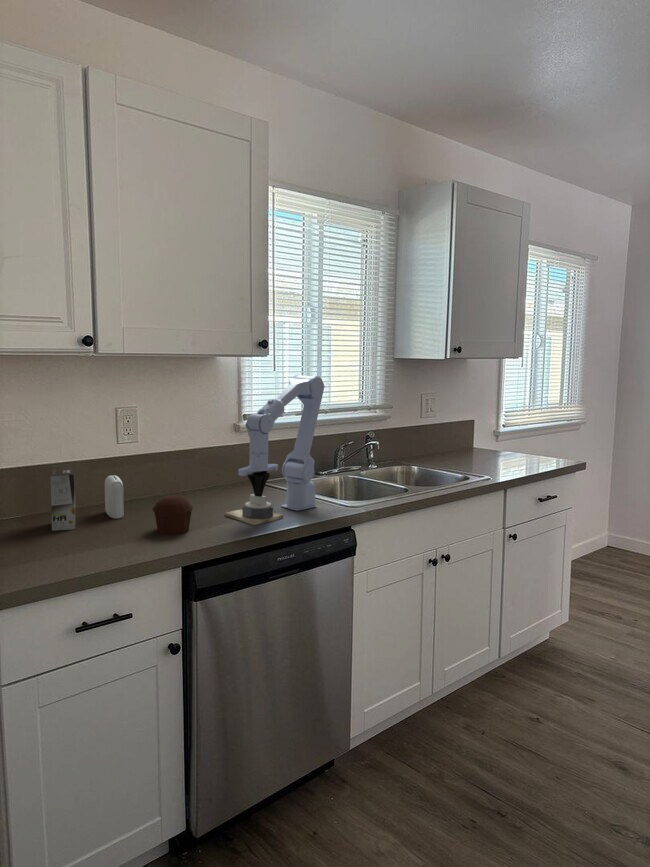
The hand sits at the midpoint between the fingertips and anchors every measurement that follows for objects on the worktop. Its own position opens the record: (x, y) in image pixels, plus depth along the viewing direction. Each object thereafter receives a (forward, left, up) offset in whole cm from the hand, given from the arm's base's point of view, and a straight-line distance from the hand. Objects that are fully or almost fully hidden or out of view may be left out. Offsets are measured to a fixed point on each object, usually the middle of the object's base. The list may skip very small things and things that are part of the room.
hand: (258, 495), depth 204 cm
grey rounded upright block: (+31, -32, -7) cm, 45 cm away
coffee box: (+48, -30, -7) cm, 57 cm away
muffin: (+27, -6, -7) cm, 29 cm away
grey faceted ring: (0, 0, -7) cm, 7 cm away
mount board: (0, -2, -7) cm, 7 cm away
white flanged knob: (0, 0, -5) cm, 5 cm away
